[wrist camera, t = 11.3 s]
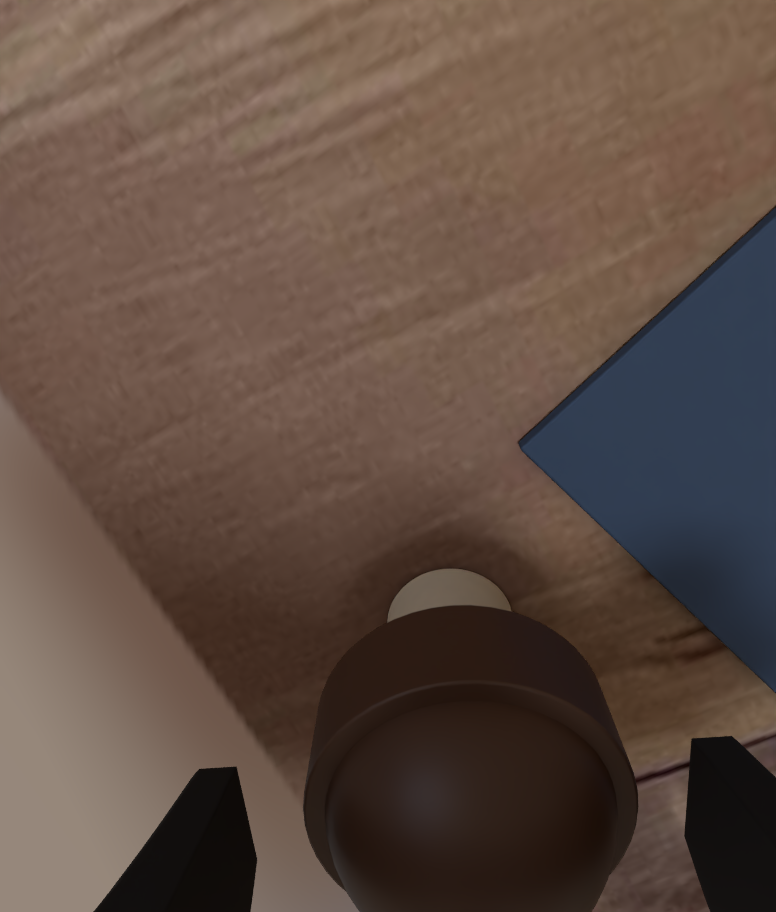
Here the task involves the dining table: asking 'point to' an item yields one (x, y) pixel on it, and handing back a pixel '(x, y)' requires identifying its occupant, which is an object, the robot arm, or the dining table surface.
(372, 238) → the dining table surface
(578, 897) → the mushroom
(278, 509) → the dining table surface
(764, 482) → the blue flat board
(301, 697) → the dining table surface
